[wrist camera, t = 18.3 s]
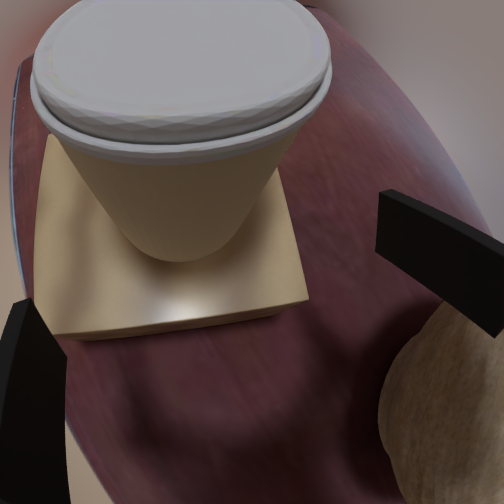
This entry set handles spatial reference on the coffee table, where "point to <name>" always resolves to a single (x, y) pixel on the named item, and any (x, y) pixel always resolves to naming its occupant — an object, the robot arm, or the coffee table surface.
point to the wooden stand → (152, 266)
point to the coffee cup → (179, 109)
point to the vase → (446, 413)
